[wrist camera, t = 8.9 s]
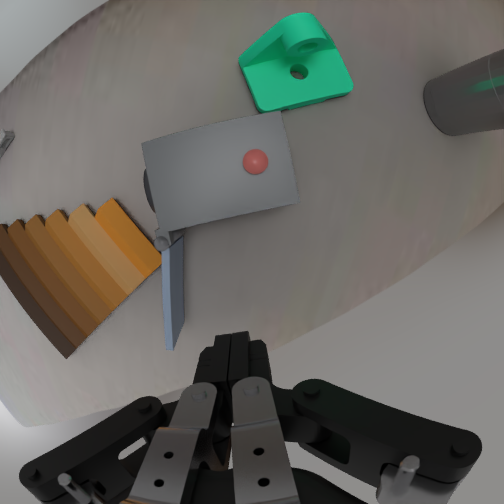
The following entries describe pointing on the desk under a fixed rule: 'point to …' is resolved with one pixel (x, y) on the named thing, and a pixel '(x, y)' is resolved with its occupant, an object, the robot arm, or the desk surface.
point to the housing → (218, 173)
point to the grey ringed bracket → (5, 140)
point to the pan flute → (74, 268)
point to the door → (173, 289)
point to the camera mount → (294, 65)
